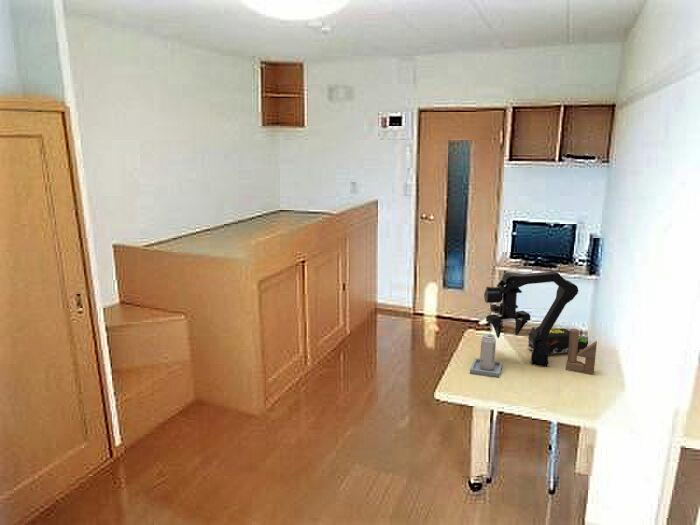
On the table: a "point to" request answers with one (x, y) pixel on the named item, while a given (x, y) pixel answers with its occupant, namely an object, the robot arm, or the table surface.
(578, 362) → the brown angular piece
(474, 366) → the tray
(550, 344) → the toy van
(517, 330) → the robot arm
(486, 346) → the energy drink can
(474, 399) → the table surface
